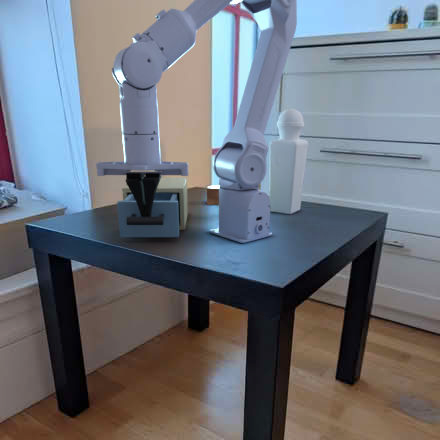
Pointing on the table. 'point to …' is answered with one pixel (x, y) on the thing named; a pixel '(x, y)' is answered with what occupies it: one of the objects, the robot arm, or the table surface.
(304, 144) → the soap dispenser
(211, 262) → the table surface
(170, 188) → the drawer cabinet
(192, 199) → the table surface
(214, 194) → the block
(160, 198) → the drawer
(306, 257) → the table surface
